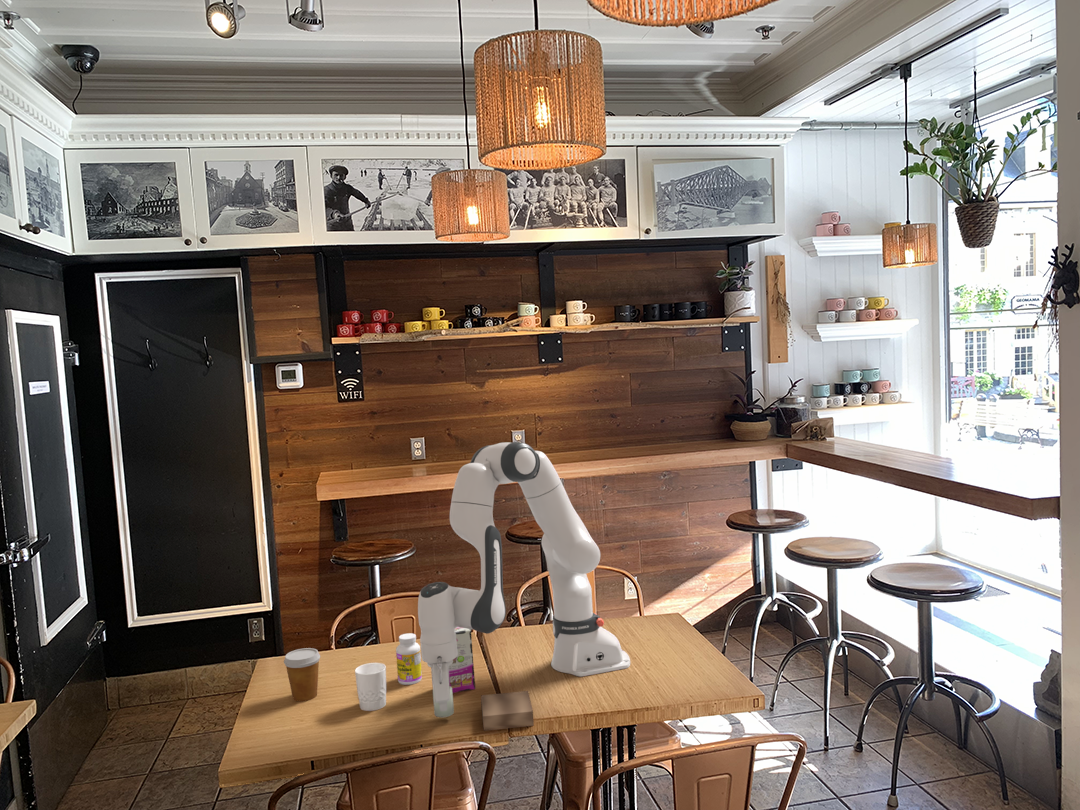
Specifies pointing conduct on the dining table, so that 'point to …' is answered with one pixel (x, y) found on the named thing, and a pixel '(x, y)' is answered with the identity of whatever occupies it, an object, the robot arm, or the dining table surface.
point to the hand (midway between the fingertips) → (443, 704)
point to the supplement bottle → (408, 660)
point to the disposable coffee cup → (303, 673)
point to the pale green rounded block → (449, 706)
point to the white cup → (371, 686)
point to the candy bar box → (462, 663)
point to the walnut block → (506, 710)
